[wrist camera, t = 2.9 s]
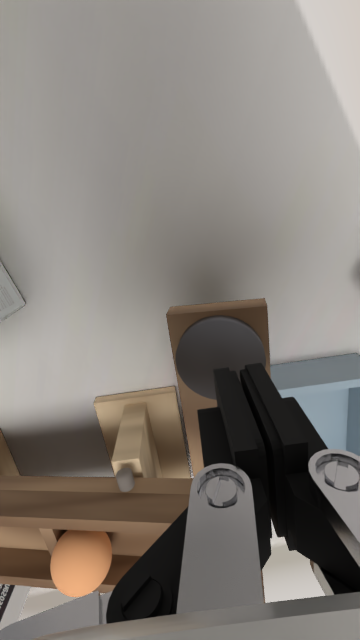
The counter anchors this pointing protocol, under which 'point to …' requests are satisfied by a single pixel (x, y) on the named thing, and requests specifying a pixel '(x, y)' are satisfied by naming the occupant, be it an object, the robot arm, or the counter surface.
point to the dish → (326, 396)
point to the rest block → (6, 460)
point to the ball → (80, 561)
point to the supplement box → (8, 295)
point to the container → (12, 603)
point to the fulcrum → (144, 433)
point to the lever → (124, 490)
